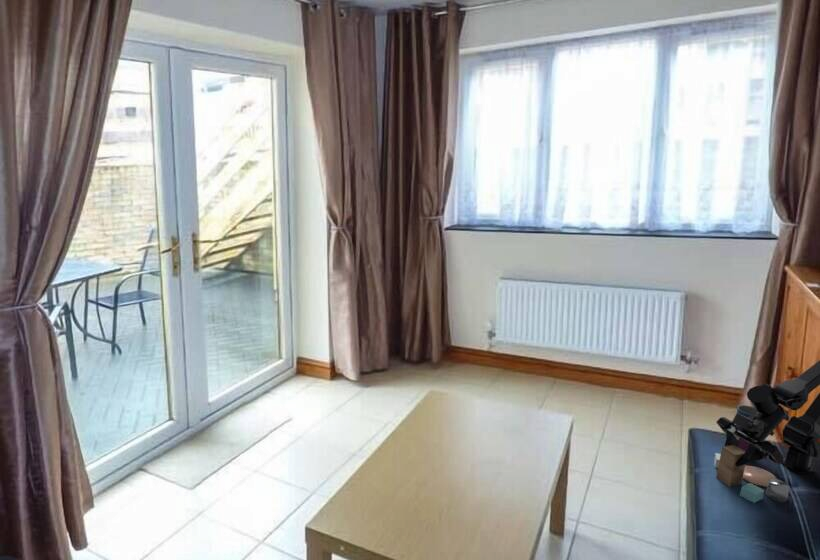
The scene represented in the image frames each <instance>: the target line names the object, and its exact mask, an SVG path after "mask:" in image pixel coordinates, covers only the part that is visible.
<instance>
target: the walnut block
mask: <svg viewBox="0 0 820 560" xmlns="http://www.w3.org/2000/svg"><path fill="white" fill-rule="evenodd" d="M744 453H745V451H744V450H742V449H740V448H739V447H737V446H736V445H730V446H722V447H721V451H720V454H721V456H720V461H719V466H718V468H717V473H716V479H718V480H719V481H721V482H722V483H724V484H725V485H726V486H728V487H734V486H738V484H739V485H742V483H743V473H744V468H745V466H746V464H744V465H741V466H738V467H737V466H736V465H735V463H736V462H737V461H738V459H739V458H740V457H741V456H742V455H743V454H744Z"/></svg>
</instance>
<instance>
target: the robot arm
mask: <svg viewBox="0 0 820 560" xmlns="http://www.w3.org/2000/svg"><path fill="white" fill-rule="evenodd" d="M819 386H820V359H819V360H818V361H817V362H815V363H814V364H812V365H811V366H809V368H808V369H806V370H804V371H803V372H802V373H801V374H800V375H798V376H797V377H795V378H794V379H788V380H783V381H781V383H778V384H777V385H775V386H771V385H769V384H768V383H763V384H762V385H756V386H753V387H750V388H749V389H748V391H747V393H746V397H747V399H748V401H749V402H750V403H751V406H752V407H754V408H755V409H756V410H757V411H758V413H757V414H756V415H755V416H753V415H750V416H749V417H748V418H747V417H745V416H743V415H741V414H739V413H737V412H736V414H735V415H734V417H733V419H732V420H730V419H728V418H727V417H725V416H723V417H722V416H721V417H719V418H718V419H717V420H716V421H715V423H716V424H717V425H718V426H719V428H720V429H721V431H722V432H724V433H725V434H726V439H725V442H724V446H730V445H736V446H737V447H738V446H739V445H740V444H741V443H740V442H739V441H738V439H739V438H742V439H743V440H745V441H747V442H749V443H750V444H749V447H748V450H747V451H746V452H745V453H744V454H743V455H742V456H741V457H740V458H739V459H738V461H737V462H736V463H735V465H736V466H737V467H738V466H741V465H744V464H745V465H747V464H749V463H753V462H757V461H761V460H765V461H766V460H767V457H768V459H769V461H771V462H773V463H775V464H777V465H781V464H782V465H784V466H785V467H787V468H789V469H790V470H792V471H793V472H795V473H797V474H807V473H812V472H814V473H815V472H816V468H815V469H814V468H813V467H811V466H812V463H813V458H819V456H820V441H819V440H820V392H819V393H818V394H817V395H816V396H815V398H814V399H813V401H812V402H811V404H810V405H809V406H808V407H807V409H806V410H805V411H804V413H803V415H800V416H794V415H793V416H792V417H790V415H789V411H788V410H790V411H798V410H800V409H801V408H803V406H804V405H805V404H806V403H807V402H808V400H809V394H810V393H811V392H812V391H814V390H815V389H816V388H817V387H819ZM783 407H785V408H787V409H788V410H786V409H784V408H783ZM783 420H785V421H786V422H787V423H785V424H784V427H783V429H782V432H781V433H782V442H783V444H785V445H787V446H788V448H787V452H786V455H785V457H784V454H783V453H782V452H781V450H780V448H779V447H778V446H777V445H774V444H772V443H771V442H769V441H768V440H766V439H767V438H768V437H769V436H771V437H773V436H774V435H775V432H774V430H775V429H777V427H778V426H779V425H780V424H781V423H782V422H783ZM735 424H737V425H738V426H739V428H740V429H742V430H739V429H738V428H737V426H736V425H735ZM744 436H746V437H747V438H746V437H744ZM751 440H752V441H751ZM753 441H754V442H753ZM724 446H723V447H724Z"/></svg>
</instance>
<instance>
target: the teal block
mask: <svg viewBox="0 0 820 560" xmlns="http://www.w3.org/2000/svg"><path fill="white" fill-rule="evenodd" d="M765 492H766V491H765V490H764V489H763V488H761V487H760V486H758V485H754V484H752V483H749V482H748V483H747V484H744V485H743V486H741V489H740V492H739V497H741V496H742V497H741V498H743V497H744V499H745V498H746V499H745V500H747V499H748V500H747V501H749V500H750V501H749V502H751V501H752V502H754V503H755V502H757V501H759V500H761V499H762V500H763V498H764V495H765V494H764V493H765ZM762 500H761V501H762ZM752 502H751V503H752ZM759 502H760V501H759ZM754 503H753V504H754ZM757 503H758V502H757ZM755 504H756V503H755Z"/></svg>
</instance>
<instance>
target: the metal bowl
mask: <svg viewBox="0 0 820 560" xmlns="http://www.w3.org/2000/svg"><path fill="white" fill-rule="evenodd" d="M790 488H791V486H790V484H788V483H787V482H786V481H783V480H781V479H780V478H779V479H778V478H777V479H769V480H768V485H767V487H766V491H765V494H766V496H767V498H769V497H770V498H769V499H771V500H773V501H775V502H778V503H779V502H780V503H785V502H787V501H788V498H789V497H788V496H789V492H790Z"/></svg>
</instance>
